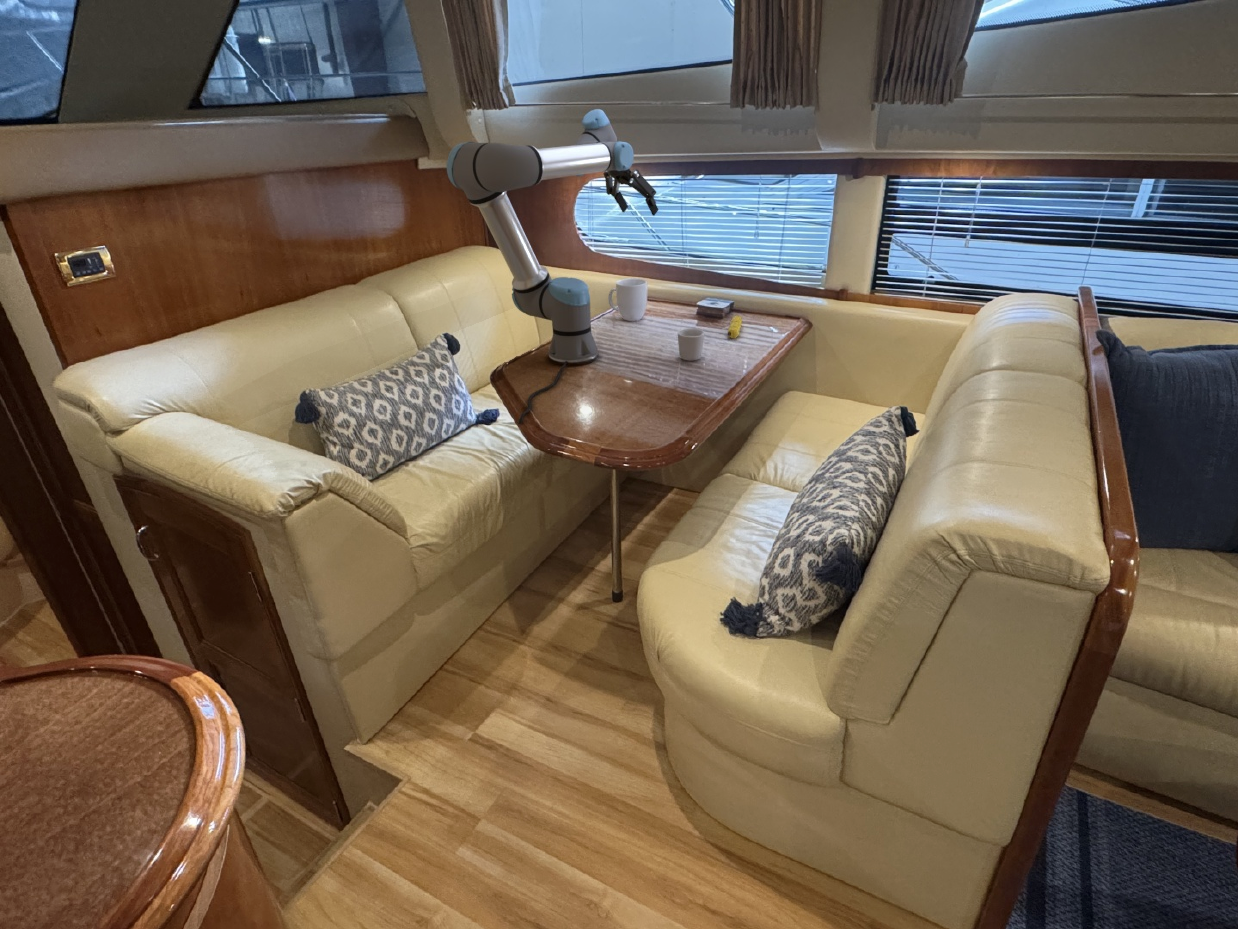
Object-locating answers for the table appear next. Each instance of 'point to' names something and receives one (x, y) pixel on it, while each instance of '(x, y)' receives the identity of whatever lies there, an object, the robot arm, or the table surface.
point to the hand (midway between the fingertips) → (640, 211)
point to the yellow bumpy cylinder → (734, 327)
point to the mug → (630, 298)
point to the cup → (690, 343)
